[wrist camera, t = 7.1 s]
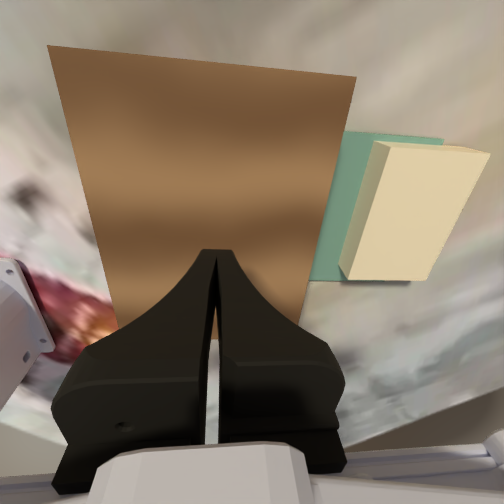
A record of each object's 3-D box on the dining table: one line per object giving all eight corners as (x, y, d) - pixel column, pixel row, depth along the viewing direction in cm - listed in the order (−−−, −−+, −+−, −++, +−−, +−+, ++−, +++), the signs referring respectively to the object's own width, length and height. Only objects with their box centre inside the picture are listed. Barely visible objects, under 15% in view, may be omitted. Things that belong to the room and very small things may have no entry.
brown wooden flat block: (284, 301, 23) (294, 338, 20) (138, 300, 22) (121, 340, 18) (326, 78, 15) (356, 76, 11) (92, 55, 13) (46, 45, 10)
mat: (382, 279, 22) (384, 281, 22) (289, 277, 22) (289, 279, 21) (441, 138, 17) (444, 139, 17) (317, 128, 16) (318, 129, 16)
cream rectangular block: (347, 279, 19) (337, 263, 21) (425, 280, 20) (409, 265, 22) (390, 147, 15) (373, 140, 16) (490, 153, 15) (464, 146, 17)
